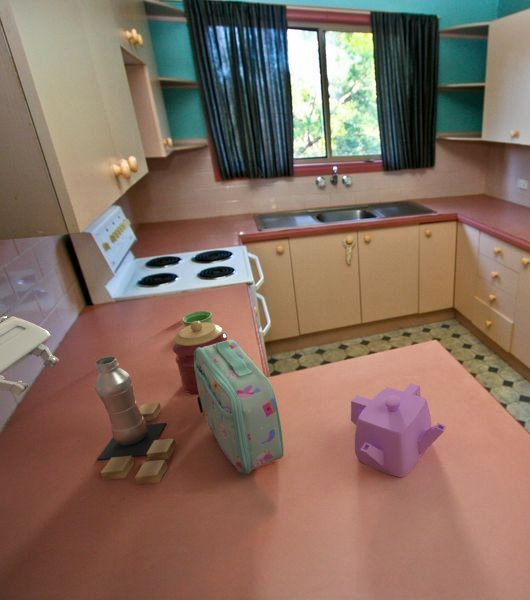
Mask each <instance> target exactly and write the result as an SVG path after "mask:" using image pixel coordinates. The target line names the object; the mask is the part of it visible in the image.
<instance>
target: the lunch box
mask: <svg viewBox="0 0 530 600" xmlns="http://www.w3.org/2000/svg"><path fill="white" fill-rule="evenodd" d="M194 370H195V374H196V381H197V386H198V392H199V394H198V397H197V399H196V401H197V404H198V408H199V412H200V414H203V415H204V418H205V420H206V423H207V425H208V427H209V430H210V431H211V433H212V434H213V437H214V438H215V439H216V441H217V442H218V446H219V448H220V449H221V450H222V452H223V454H224V455H225V457H226V458H227V460H228V461H229V462H230V463H231V464H232V466H234V468H235V469H236V470H237V471H238V473H240V474H241V475H249V474H250V473H251V472H252V471H254V470H256V469H258V468H260V467H263V466H266V465H267V464H271V463H273V462H275V461H277V460H281V459H282V458H283V456H284V440H283V430H282V424H281V419H280V413H279V407H278V403H277V399H276V395H275V392H274V389H273V385H272V383H271V382H270V380H269V379H268V377H267V376H266V375H265V374H264V372H263V371H262V370H261V369H260V368H259V367H258V365H256V363H254V361H253V360H252V359H251V358H250V357H249V356H248V354H247V353H246V352H245V351H244V350H243V348H242V347H241V346H240V345H239V344H238V342H236V341H235V340H234V339H227V341H223V342H220V343H216V344H213V345H209V346H205V347H203V348H200V347H199V348H197V349H196V350H195V352H194Z"/></svg>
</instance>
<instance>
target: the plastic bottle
mask: <svg viewBox="0 0 530 600" xmlns="http://www.w3.org/2000/svg"><path fill="white" fill-rule="evenodd" d="M94 365H95V369H96V372H97V373H98V375H97V377H96V380H95V383H94V390H95V392H96V394H97V395H98V397H99V398H100V400H101V402H102V403H103V405H104V408H105V409H106V412H107V413H108V414H107V415H108V418H109V421H110V425H111V434H112V435H111V436H112V438H114V439H115V441H116V442H117V443H118V444H121V445H124V446H127V445H132V444H135V443H137V442H139V441H141V440H142V439H143V438H144V437H145V435H146V433H147V431H148V428H147V424H148V423H147V421H145V419H144V417H143V416H142V415H141V412H140V410H139V408H140V407H139V406H138V403H137V400H136V397H135V393H134V392H135V391H134V385H133V379H132V376H131V374H129V373H128V372H127V371H126V370H124V369H123V368H120V364H119V362H118V360H117V357H116V356H115V355H106V356H103V357H100V358H98V359H97V360H95V362H94Z"/></svg>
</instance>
